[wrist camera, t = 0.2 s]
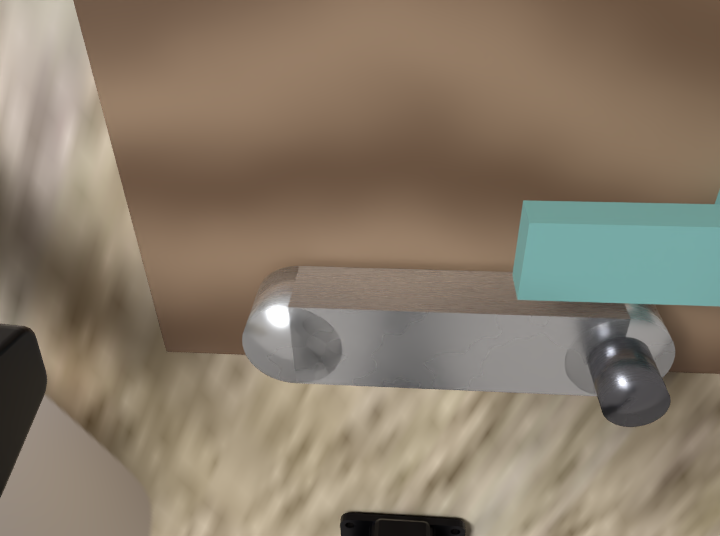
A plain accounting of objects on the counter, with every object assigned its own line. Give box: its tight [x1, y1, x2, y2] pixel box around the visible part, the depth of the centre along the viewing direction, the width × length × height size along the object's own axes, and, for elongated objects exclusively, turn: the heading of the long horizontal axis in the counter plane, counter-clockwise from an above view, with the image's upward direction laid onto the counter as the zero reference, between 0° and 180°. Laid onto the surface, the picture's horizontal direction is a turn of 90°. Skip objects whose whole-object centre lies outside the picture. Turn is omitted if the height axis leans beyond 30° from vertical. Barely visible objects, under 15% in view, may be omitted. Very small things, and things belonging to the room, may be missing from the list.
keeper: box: [512, 190, 720, 306], centre depth 18 cm, size 2×9×4 cm, turn 91°
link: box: [242, 266, 675, 427], centre depth 21 cm, size 14×4×4 cm, turn 91°
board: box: [73, 0, 720, 374], centre depth 21 cm, size 15×24×1 cm, turn 91°
